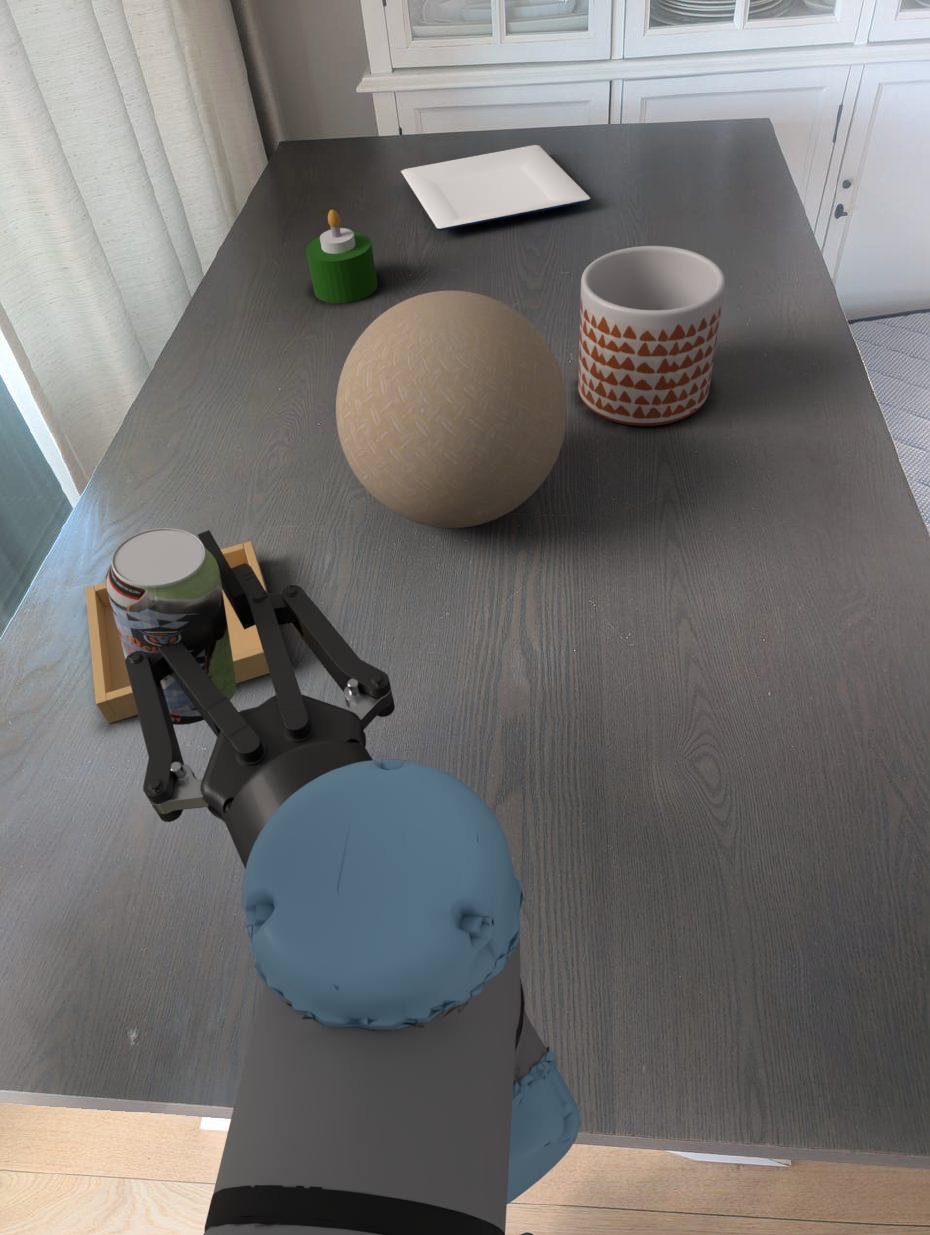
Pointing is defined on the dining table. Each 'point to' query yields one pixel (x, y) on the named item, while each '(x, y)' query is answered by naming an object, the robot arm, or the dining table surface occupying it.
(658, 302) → the planter
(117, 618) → the beverage can
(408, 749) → the dining table surface
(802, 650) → the dining table surface
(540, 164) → the plate
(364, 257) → the candle
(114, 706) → the wooden serving tray
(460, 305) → the decorative sphere
